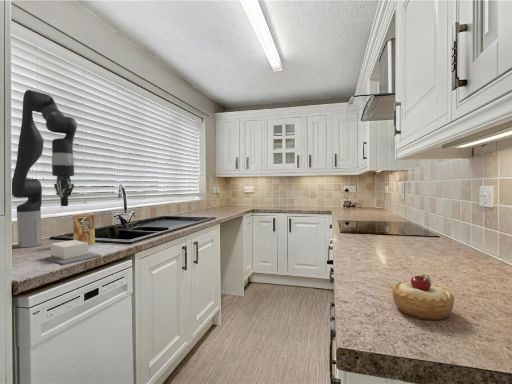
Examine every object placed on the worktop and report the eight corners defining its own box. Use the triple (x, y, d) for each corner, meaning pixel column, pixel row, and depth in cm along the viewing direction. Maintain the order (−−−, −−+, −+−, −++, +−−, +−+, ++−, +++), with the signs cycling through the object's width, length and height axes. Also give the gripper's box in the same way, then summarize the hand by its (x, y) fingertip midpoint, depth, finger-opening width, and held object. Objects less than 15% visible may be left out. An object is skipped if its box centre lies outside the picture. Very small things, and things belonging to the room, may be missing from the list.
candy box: (93, 242, 144) (92, 212, 144) (95, 243, 141) (94, 213, 141) (73, 245, 139) (72, 214, 138) (74, 246, 135) (73, 215, 135)
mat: (45, 259, 113) (45, 257, 113) (82, 251, 125) (82, 250, 125) (63, 265, 104) (63, 263, 104) (101, 256, 116) (101, 254, 116)
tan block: (50, 243, 116) (63, 247, 109) (74, 239, 123) (87, 242, 117) (50, 255, 116) (64, 259, 109) (74, 251, 123) (88, 254, 117)
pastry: (424, 300, 70) (425, 264, 70) (467, 322, 59) (468, 279, 59) (381, 302, 68) (381, 266, 68) (416, 325, 57) (417, 281, 57)
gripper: (45, 164, 117) (47, 206, 118) (59, 163, 110) (61, 207, 110) (65, 165, 123) (67, 204, 124) (80, 164, 116) (81, 206, 117)
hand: (64, 206), depth 117 cm, fingers closed
